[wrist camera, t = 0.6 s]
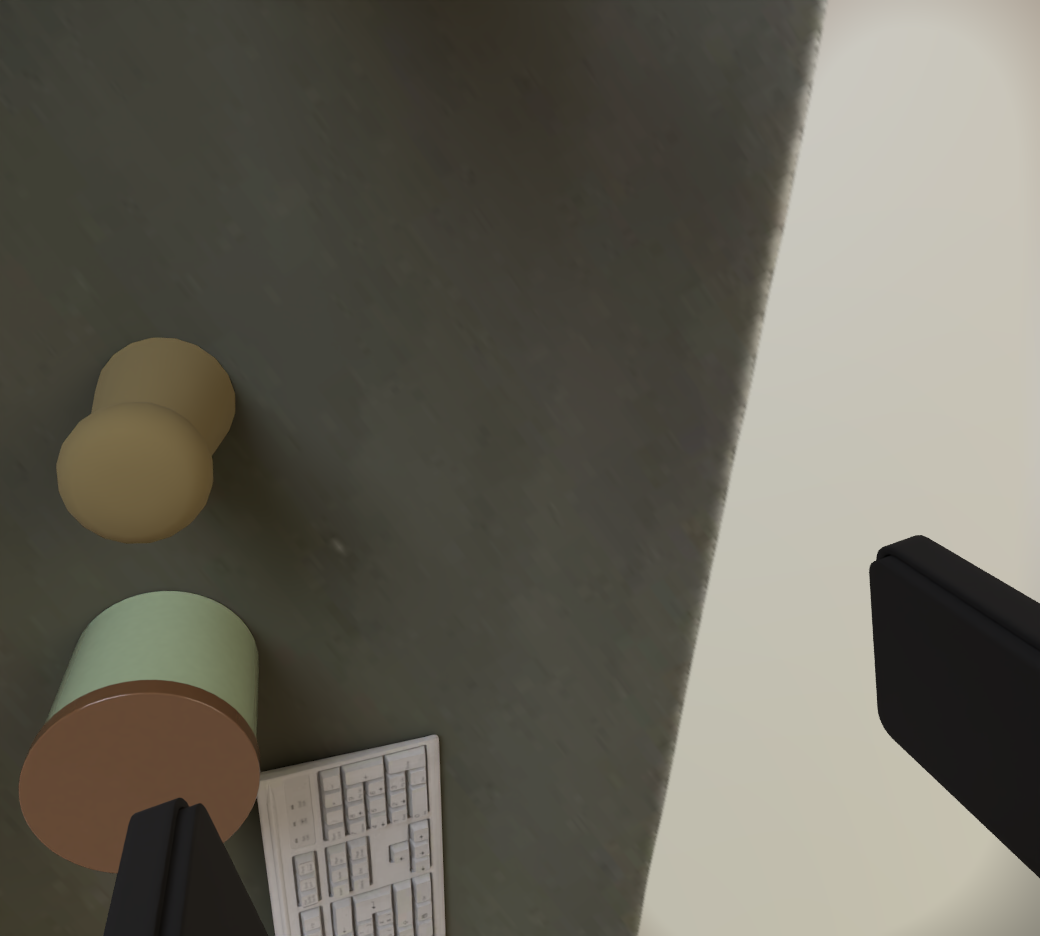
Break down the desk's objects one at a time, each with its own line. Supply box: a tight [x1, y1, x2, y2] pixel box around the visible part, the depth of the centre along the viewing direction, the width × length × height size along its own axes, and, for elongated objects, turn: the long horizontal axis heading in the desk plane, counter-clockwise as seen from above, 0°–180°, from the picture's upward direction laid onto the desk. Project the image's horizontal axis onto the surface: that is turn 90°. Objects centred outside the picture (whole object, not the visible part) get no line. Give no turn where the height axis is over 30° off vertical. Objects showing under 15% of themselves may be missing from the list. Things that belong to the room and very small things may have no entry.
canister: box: [18, 591, 261, 873], centre depth 40 cm, size 9×9×9 cm
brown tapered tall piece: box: [56, 338, 235, 544], centre depth 34 cm, size 6×6×11 cm
